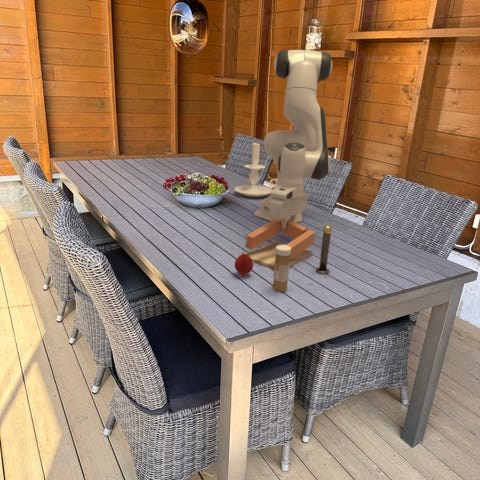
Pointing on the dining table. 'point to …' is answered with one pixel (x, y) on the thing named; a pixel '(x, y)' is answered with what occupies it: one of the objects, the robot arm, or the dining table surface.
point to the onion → (243, 264)
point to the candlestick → (254, 177)
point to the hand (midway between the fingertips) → (287, 227)
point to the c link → (293, 230)
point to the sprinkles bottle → (281, 267)
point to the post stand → (324, 250)
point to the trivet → (274, 255)
